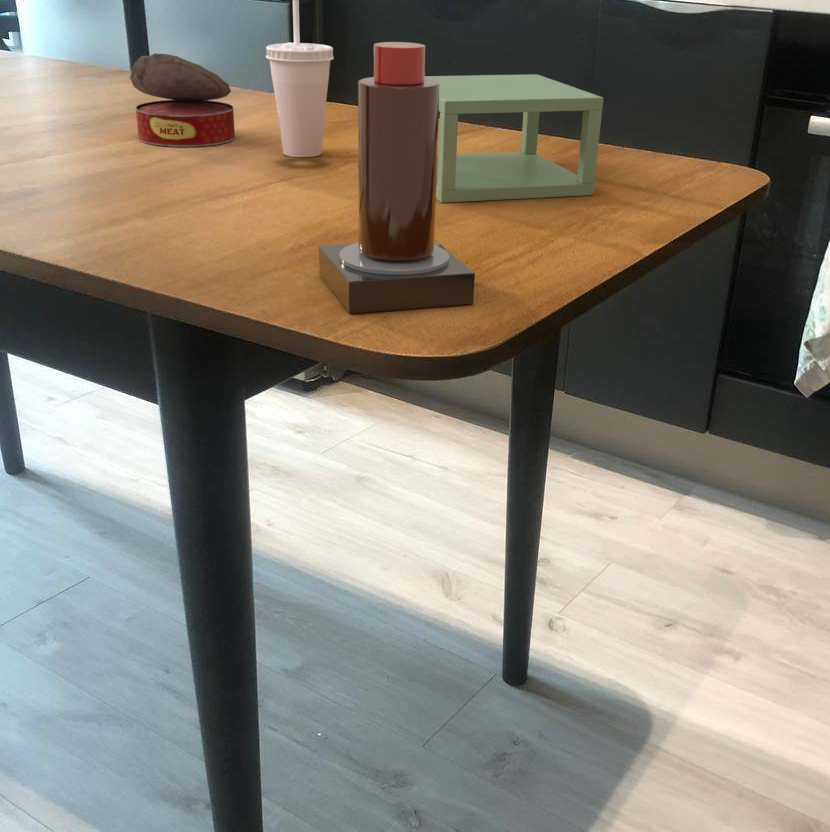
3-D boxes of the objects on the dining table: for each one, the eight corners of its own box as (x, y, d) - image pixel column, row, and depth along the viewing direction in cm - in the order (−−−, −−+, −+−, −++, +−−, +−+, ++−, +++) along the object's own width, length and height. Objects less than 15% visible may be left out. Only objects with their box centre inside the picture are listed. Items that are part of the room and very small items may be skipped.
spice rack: (441, 202, 90) (444, 101, 86) (393, 167, 102) (394, 76, 98) (593, 195, 94) (603, 97, 90) (530, 162, 106) (537, 74, 102)
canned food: (140, 184, 113) (97, 90, 111) (216, 161, 119) (177, 71, 117) (189, 147, 104) (144, 44, 102) (269, 124, 110) (228, 26, 108)
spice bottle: (369, 263, 66) (370, 50, 60) (350, 242, 70) (349, 40, 64) (444, 258, 67) (452, 49, 62) (420, 237, 71) (426, 39, 65)
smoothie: (315, 144, 110) (312, -8, 104) (346, 156, 106) (346, -3, 99) (258, 150, 107) (251, -7, 100) (288, 162, 103) (283, -1, 96)
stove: (349, 314, 65) (349, 273, 64) (319, 275, 72) (318, 238, 71) (473, 304, 68) (475, 264, 66) (433, 267, 74) (434, 231, 73)
